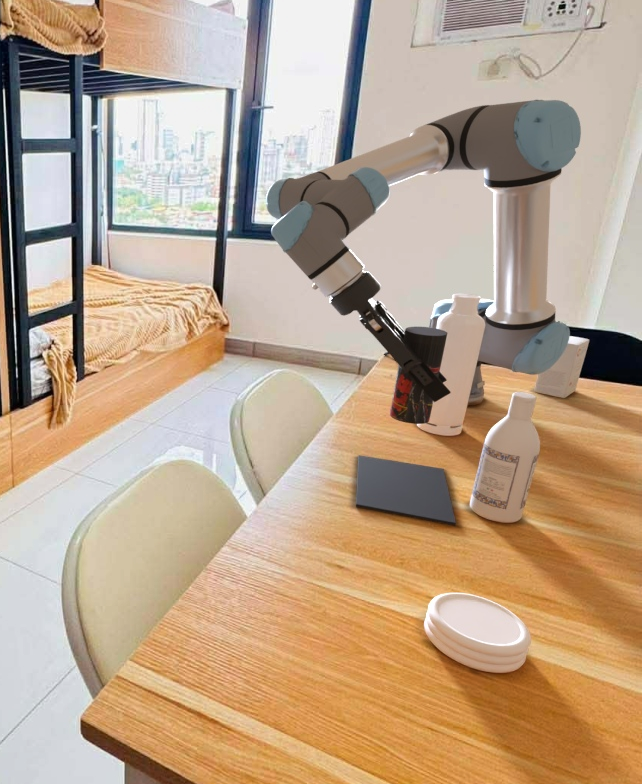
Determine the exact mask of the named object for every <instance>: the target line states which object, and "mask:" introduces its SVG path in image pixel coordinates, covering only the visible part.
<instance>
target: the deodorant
mask: <svg viewBox="0 0 642 784" xmlns="http://www.w3.org/2000/svg"><path fill="white" fill-rule="evenodd" d="M404 331H405V334H404V341H405V342H406V343H407V344H408V346H409V347H410V348H411V349H412V351H413V352H414V353H415V354H416V355H417V357H418V358H420V359H421V361H424V362H425V363H426V365H427V366H428V367H429V368H430V369H431V370H432V371H433V373H434V374H435V375H436V376H437V377H438V376H439V372H440V367H441V362H442V357H443V352H444V348H445V343H446V338H447V332H446V331H444V330H440V329H436V328H430V327H429V326H409V327H406V328H405V329H404ZM407 362H408V361H407ZM401 371H403V370H402V369H401V367H400V365H399V364H398V366H397V373H396V378H395V384H394V388H393V394H392V400H391V404H390V405H391V406H390V411H389V416H390V417H391V418H392V419H394V420H396V421H399V422H401V423H405V424H406V423H407V424H413V425H417V424H424V423H427V424H428V422H429V420H430V415H431V410H432V405H433V400H432V399H431V398H430V397H429V396H428V395H427V393H426V392H425V391H424V390H423V389H422V388H421V387H420V385H419V384H418V383H417V382H416V381H415V380H414V379H413V378H412V376H411V375H410V374H409V373H408V372H407V373H405V374H404V375H403V374H402V373H401Z"/></svg>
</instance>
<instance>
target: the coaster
mask: <svg viewBox="0 0 642 784" xmlns="http://www.w3.org/2000/svg"><path fill="white" fill-rule="evenodd" d="M423 627H424V632H425V634H426V636H427V638H428V639H429V641H430V642H431V644H433V646H434V647H436V648H437V649H438V650H439V651H440V652H441V653H443V654H444V655H445V656H447V657H449V658H450V659H451V660H453V661H455V662H457V663H459V664H461V665H462V666H465V667H468V668H471V669H473V670H477V671H482V672H487V673H493V674H506V673H512V672H515V671H517V670H519V669H520V668H521V667H522V666H523V665H524V664H525V663H526V661H527V655H528V653H529V649H530V646H531V643H532V635H531V632H530V630H529V628H528V626H527V625H526V623H524V621H523V620H522V619H521V618H519V616H517V615H516V614H515V613H514V612H513V611H511V610H510V609H508V608H506V607H505V606H503V605H501V604H499V603H497V602H494V601H493V600H491V599H488V598H485V597H482V596H479V595H475V594H472V593H471V594H470V593H465V592H447V593H441V594H439V595H437V596H434V597H433V598H432V599H431V600H430V602H428V606H427V611H426V614H425V618H424V622H423Z"/></svg>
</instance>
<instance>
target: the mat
mask: <svg viewBox="0 0 642 784" xmlns="http://www.w3.org/2000/svg"><path fill="white" fill-rule="evenodd" d="M356 477H357V478H356V495H355V507H356V508H360V509H366V510H371V511H375V512H380V513H387V514H392V515H397V516H402V517H407V518H414V519H418V520H424V521H429V522H434V523H440V524H445V525H450V526H454V527H455V526H457V522H456V521H457V520H456V516H455V512H454V509H453V504H452V500H451V497H450V496H451V495H450V491H449V486H448V482H447V478H446V473H445V469H444V468H441V467H435V466H429V465H422V464H418V463H417V464H416V463H410V462H404V461H398V460H391V459H385V458H378V457H372V456H366V455H359V454H358V456H357V475H356Z"/></svg>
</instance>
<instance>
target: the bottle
mask: <svg viewBox="0 0 642 784" xmlns="http://www.w3.org/2000/svg"><path fill="white" fill-rule="evenodd" d="M451 299H453V304H452V306H451V308H450V311H449V312H447V313H445V314H443V315H441V316H440V317H439V319H438V322H437V327H436V329H440V330H444V331H446V332H447V338H446V343H445V348H444V352H443V357H442V362H441V367H440V373H441V374H442V375H443V376H444V377H445V378H446V380H447V381H445V382H443V384H444V385H445V386H446V387H447V388H448V389H449V391H450V392H451V393H450V394H448V395H446V396H445V397H443V398H441V399H440V400H438V401H436V402H434V401H433V405H432V410H431V415H430V420H429V422H427V423H424V424H416V427H417V428H418V429H420V430H422V431H424V432H426V433H429V434H434V435H437V436H438V435H439V436H447V437H451V436H452V437H453V436H458V435H460V434H461V433H462V430H463V425H464V424H463V423H464V422H465V418H466V417H465V416H466V414H467V413H466V412H467V408H468V406H467V404H468V400H469V395H470V391H471V387H472V382H473V378H474V373H475V369H476V365H477V360H478V356H479V351H480V347H481V343H482V338H483V334H484V329H485V321H484V319H483V318H482V317H481V316H479V315H478V311H477V306H478V304H479V302H480V300H481V299H482V296H481V295H478V294H474V293H453V294H452V297H451Z"/></svg>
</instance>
